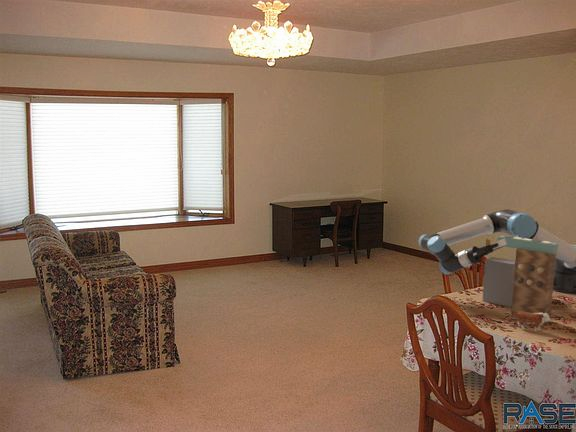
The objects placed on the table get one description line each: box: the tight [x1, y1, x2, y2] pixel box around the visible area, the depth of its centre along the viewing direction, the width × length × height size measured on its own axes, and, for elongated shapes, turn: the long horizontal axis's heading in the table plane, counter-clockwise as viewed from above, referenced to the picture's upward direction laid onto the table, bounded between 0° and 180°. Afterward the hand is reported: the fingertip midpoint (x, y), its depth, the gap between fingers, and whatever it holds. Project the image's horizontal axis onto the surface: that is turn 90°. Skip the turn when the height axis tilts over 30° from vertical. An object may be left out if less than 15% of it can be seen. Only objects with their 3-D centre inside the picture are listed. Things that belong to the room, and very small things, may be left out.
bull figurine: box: [515, 311, 551, 333], centre depth 250 cm, size 4×13×8 cm, turn 58°
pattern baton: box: [497, 235, 558, 254], centre depth 263 cm, size 24×4×4 cm, turn 48°
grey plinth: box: [482, 256, 515, 308], centre depth 288 cm, size 13×8×20 cm, turn 48°
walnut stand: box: [510, 248, 556, 326], centre depth 262 cm, size 14×8×30 cm, turn 48°
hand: (512, 239), depth 267 cm, fingers open, 13 cm apart
